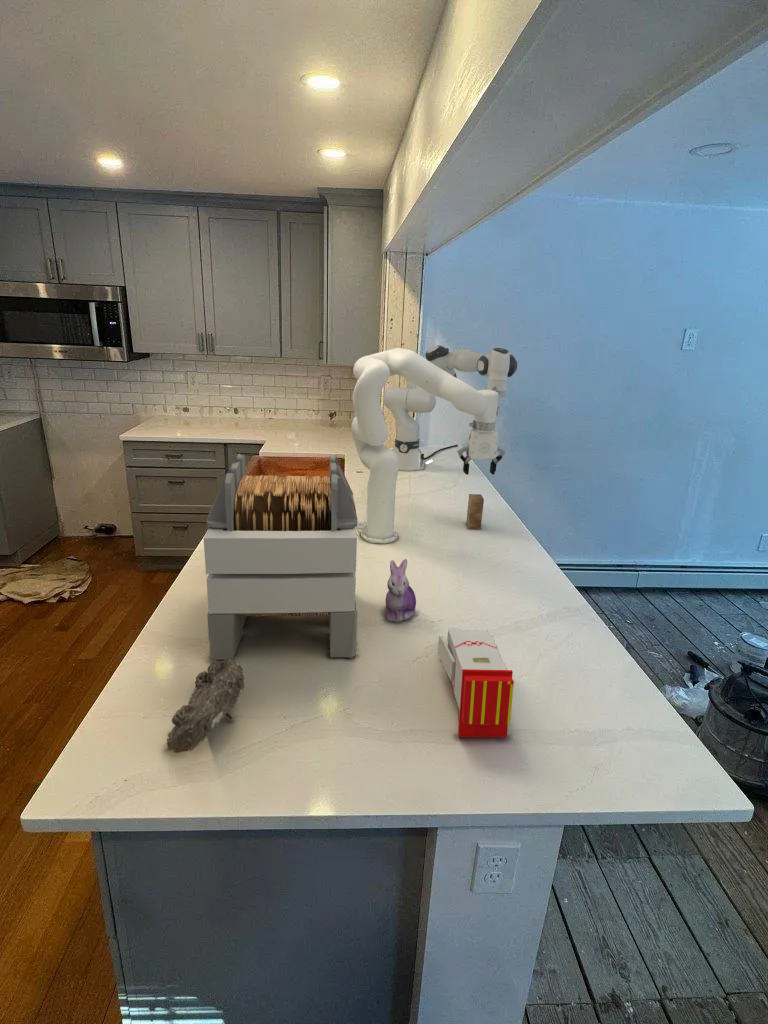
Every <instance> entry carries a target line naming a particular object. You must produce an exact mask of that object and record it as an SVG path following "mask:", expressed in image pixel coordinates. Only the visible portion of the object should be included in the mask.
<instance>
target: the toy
mask: <svg viewBox="0 0 768 1024" xmlns="http://www.w3.org/2000/svg"><path fill="white" fill-rule="evenodd" d="M446 640H447V643H446V641H445V639H444V636H443V635H442V634H439V637H438V646H437V656H438V657H439V659H440V661H441V663H442V666H443V668H444V670H445V672H446V674H447V677H448V679H449V681H450V684H451V687H452V690H453V693H454V697H455V701H456V705H457V708H458V711H459V714H458V715H459V716H458V730H457V731H458V732H457V737H458V738H508V731H509V726H510V725H511V717H512V707H513V697H514V696H513V695H514V684H515V680H514V679H513V673H514V671H513V670H512V669H508V667H507V665H506V662H505V661H504V659H503V658H502V655H501V653H500V651H499V649H498V647H497V643H496V639H495V637H494V635H493V634H491V632H490V631H489V629H467V628H466V629H465V628H463V629H461V628H460V629H459V628H448V630H447V639H446Z"/></svg>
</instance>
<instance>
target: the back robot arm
mask: <svg viewBox="0 0 768 1024" xmlns="http://www.w3.org/2000/svg"><path fill="white" fill-rule="evenodd" d="M424 355H425V359H427V360H428V361H430V362H431V363H433V364H434V365H436V366H437V367H439V368H441V369H442V370H444V371H446V372H447V373H449V374H451V375H452V376H454V377H456V378H457V379H458V377H457V372H455V370H456V371H459V372H461V373H473V372H475V373H476V372H477V373H478V374H479V375H480V376H482V377H487V383H486V390H493V391H496V392H497V393H498V404H497V413H496V417H498V416H499V411H500V407H501V406H502V405H503V403H504V401H505V395H506V392H507V390H508V382H509V378H511V377H512V376H514V374H515V373H516V372H517V371H518V361H517V359H516V357H515V356H514V355H513V354H510V351H509V350H508V349H506V348H502V347H495V348H492V349H491V351H490V352H488V353H487V354H486V353H481V352H478V351H475V350H472V349H469V348H459V349H455V350H453V351H450V349H449V348H448V347H445V346H443V345H441V344H440V345H438V344H437V345H433V346H431V347H429V349H427V350H426V352H425V354H424ZM382 398H383V399H382V400H383V404H384V406H385V407H386V408H387V409H388V411H390V412H391V414H392V416H393V418H394V421H395V439H394V447H393V448H392V449H391V450H392V451H393V452H394V453H395V454H396V455H397V457H398V460H399V471H406V472H412V471H420V470H422V471H423V470H425V465H427V464H430V463H432V462H433V459H430V458H431V457H433V456H434V455H435V454H437V453H439V452H442V451H444V450H447V449H452V448H455V447H458V446H459V444H453V445H450V446H446V447H443V448H440V449H438V450H435V451H434V452H432V453H431V454H429V455H427V456H426V457H425V454H424V453H422V451H421V449H420V438H419V437H420V435H419V434H420V424H419V422H418V421H417V420H416V419H414V418H413V417H411V415H410V413H419V414H425V413H431V412H432V411H433V410H434V409H435V408H436V404H437V398H436V396H435V395H432V394H431V393H428V392H427V391H425V390H424V389H422V388H420V387H419V386H417V385H416V384H414V383H412V382H411V381H409V380H408V381H407V383H406V386H405V387H389V388H387V389H386V391H385V392H384V393H383V397H382ZM428 459H430V460H428ZM425 460H428V461H425Z"/></svg>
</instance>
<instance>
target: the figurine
mask: <svg viewBox="0 0 768 1024" xmlns="http://www.w3.org/2000/svg"><path fill="white" fill-rule="evenodd" d="M407 567H408V559H406V558H404V559H403V560H402V561H401V563H400V565H399V566H398V565H397V563H396V562H395V561H394V560H393V559H391V560H390V561H389V570H390V576H389V578H388V579H387V589H388V591H387V592H386V594H385V595H386V596H385V607H384V615H385V616H386V620H387V621H391V622H395V623H400V622H402V621H406V620H409V619H410V618H411V617H413V616H414V615H415V610H416V606H417V597H416V593H415V591H414V590H413V587H411V586H410V582H409V579H408V577H407V574H406V571H407Z"/></svg>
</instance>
